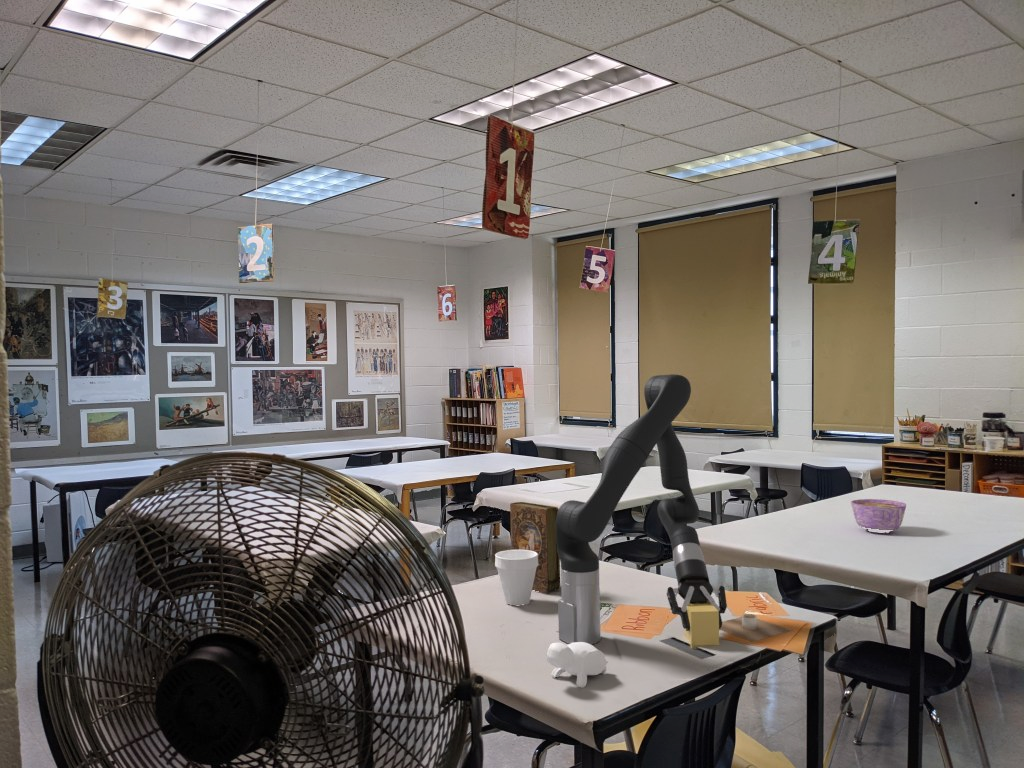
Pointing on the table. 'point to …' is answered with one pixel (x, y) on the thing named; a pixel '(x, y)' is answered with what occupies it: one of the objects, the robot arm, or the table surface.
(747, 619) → the white jar
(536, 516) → the book
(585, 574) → the robot arm
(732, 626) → the board
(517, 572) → the cup
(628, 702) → the table surface
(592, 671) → the white animal figurine
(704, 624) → the yellow block
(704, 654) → the mat
